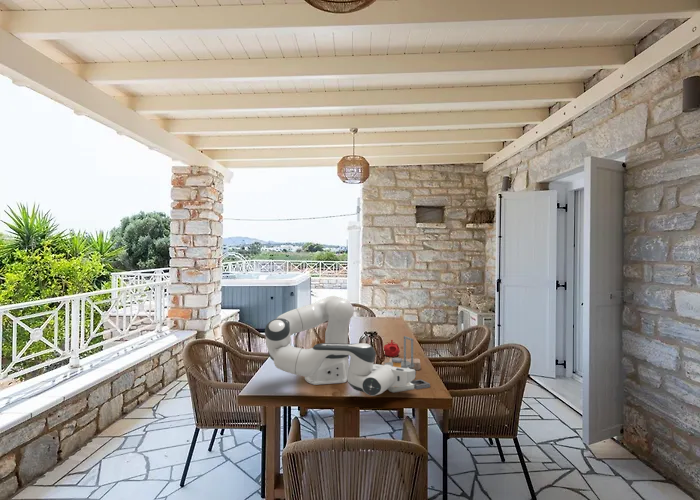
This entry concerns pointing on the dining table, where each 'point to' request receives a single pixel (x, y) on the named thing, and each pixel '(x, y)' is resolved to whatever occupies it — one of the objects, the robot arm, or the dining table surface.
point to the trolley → (405, 363)
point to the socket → (420, 384)
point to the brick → (415, 362)
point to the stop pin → (396, 362)
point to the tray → (401, 388)
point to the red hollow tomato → (391, 349)
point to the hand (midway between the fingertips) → (397, 367)
